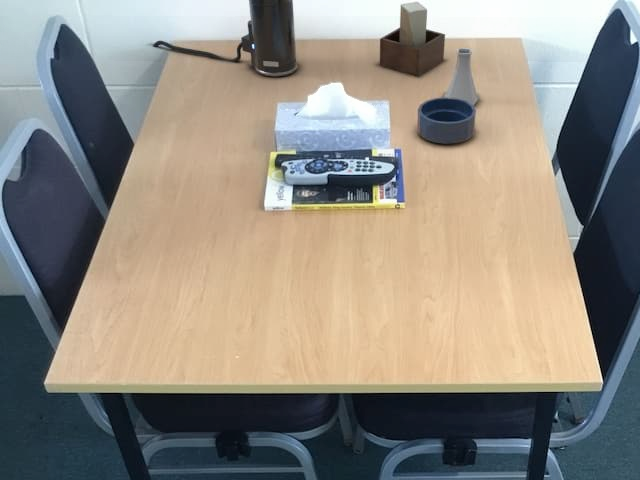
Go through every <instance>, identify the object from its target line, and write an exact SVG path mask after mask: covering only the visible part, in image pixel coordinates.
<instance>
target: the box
mask: <svg viewBox="0 0 640 480" xmlns="http://www.w3.org/2000/svg"><path fill="white" fill-rule="evenodd" d="M399 10H400V13H399V14H400V16H399V28H400V40H399V43H402V44H406V45H409V46H413V47H417V48H420V47H421V46H423V45H424V44H425V41H426V29H427V20H428V9H427V8H426V7H425V6H424V5H423V4H421V3H420V2H419V1H413V2H404V3H401V4H400V9H399Z"/></svg>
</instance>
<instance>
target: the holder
mask: <svg viewBox="0 0 640 480" xmlns="http://www.w3.org/2000/svg"><path fill="white" fill-rule="evenodd" d="M445 39H446V34H445V33H442V32H439V31H435V30H430V29H427V28H426V41H425V44H424V45H423V46H421V47H420V48H417V47H413V46H409V45H406V44H402V43H399V40H400V27H398V28H396V29H394V30H393V31H391V32H389V33H388V34H386V35H384V36H382V37H380V38H379V66H382V67H385V68H389V69H392V70H396V71H398V72H401V73H405V74H409V75H412V76H416V77H420V76H421V75H424V73H426V72H428V71H430V70H431V69H432V68H434V67H435V66H437V65H439V64H440V63H443V61H444V59H445V44H446V43H445V42H446V40H445Z"/></svg>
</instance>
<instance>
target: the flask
mask: <svg viewBox="0 0 640 480" xmlns="http://www.w3.org/2000/svg"><path fill="white" fill-rule="evenodd" d="M455 53H456V55H457V57H456V58H457V59H456V64H455V69H454V72H453V74H452V77H451V80H450V82H449V84H448V87H447V89H446V91H445V94H444V96H443V97H448V98H458V99H461V100H464V101H467V102H469V103H470V104H472V105H473V106H474V107H475V104H476V103H477V102H478V101H479V97H478V94H477V90H476V86H475V83H474V78H473V73H472V68H471V66H472V65H471V56H472V54H473V50H472V49H471V48H470V47H459V48H458V49H456V52H455Z"/></svg>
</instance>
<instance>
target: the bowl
mask: <svg viewBox="0 0 640 480" xmlns="http://www.w3.org/2000/svg"><path fill="white" fill-rule="evenodd" d="M476 115H477V110H476V107H475V105H474V106H473V105H472V104H470V103H469V102H467V101H464V100H461V99H458V98H448V97H444V96H443V97H434V98H431V99H428V100H425V101H423V102H422V103H420V104H419V106H418V108H417V122H416V124H417V125H416V126H417V127H416V130H417V132H418V135H419V136H420V137H422V138H423V139H424V140H427V141H430V142H433V143H436V144H444V145H445V144H446V145H449V144H459V143H461V142H464V141H468V140H469V139H470V138H471V137H473V135H474V133H475V129H476V128H475V127H476V117H477V116H476Z"/></svg>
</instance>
